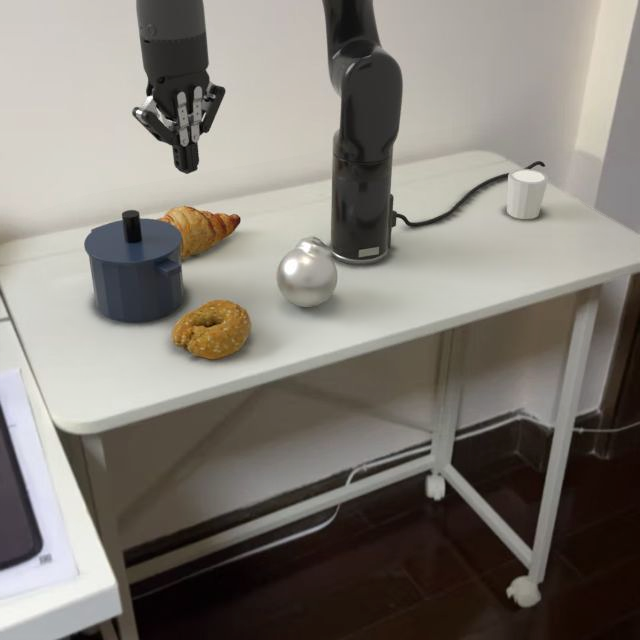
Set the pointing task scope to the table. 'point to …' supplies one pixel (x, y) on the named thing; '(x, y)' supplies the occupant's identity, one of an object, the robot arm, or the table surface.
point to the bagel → (213, 329)
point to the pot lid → (133, 240)
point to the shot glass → (525, 193)
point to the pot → (138, 289)
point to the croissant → (200, 228)
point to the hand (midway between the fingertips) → (187, 170)
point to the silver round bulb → (307, 273)
